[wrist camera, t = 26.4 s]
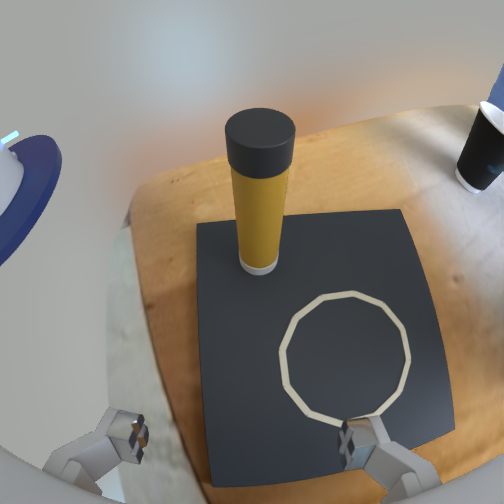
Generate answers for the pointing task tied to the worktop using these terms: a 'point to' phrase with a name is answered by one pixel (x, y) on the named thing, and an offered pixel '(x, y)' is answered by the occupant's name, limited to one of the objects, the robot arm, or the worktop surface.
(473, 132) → the dixie cup
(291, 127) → the marker
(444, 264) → the worktop surface
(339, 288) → the board
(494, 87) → the water jug
